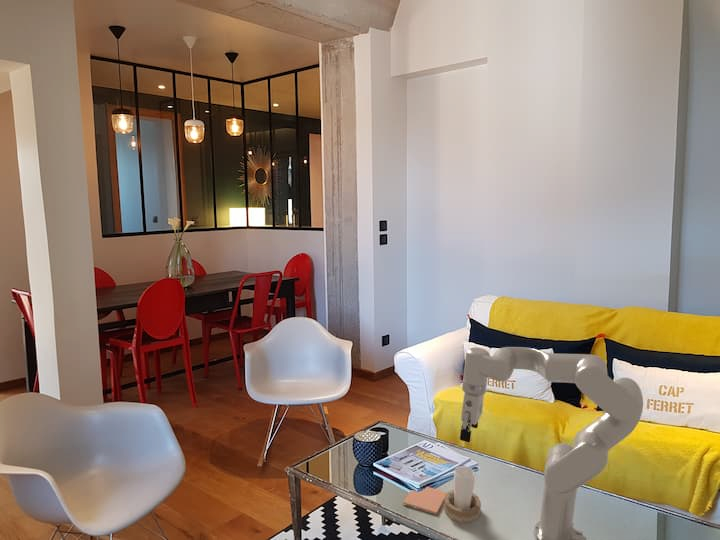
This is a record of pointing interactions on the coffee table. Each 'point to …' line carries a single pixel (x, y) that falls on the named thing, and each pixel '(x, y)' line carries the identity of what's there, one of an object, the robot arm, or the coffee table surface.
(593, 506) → the coffee table surface
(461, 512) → the collar ring
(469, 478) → the drinking glass
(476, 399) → the robot arm
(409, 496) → the terracotta tile
